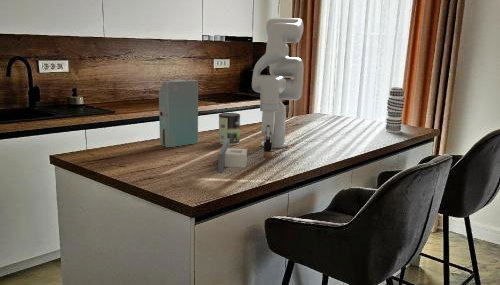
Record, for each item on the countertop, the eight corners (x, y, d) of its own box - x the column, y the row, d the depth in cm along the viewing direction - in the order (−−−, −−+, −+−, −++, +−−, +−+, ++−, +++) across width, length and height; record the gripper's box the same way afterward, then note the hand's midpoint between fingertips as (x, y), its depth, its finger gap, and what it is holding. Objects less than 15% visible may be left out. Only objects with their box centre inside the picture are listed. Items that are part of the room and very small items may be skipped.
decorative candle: (403, 133, 259) (408, 88, 254) (387, 132, 259) (391, 88, 254) (398, 130, 268) (403, 87, 263) (382, 129, 268) (386, 86, 263)
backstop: (225, 156, 196) (226, 138, 195) (269, 158, 196) (269, 139, 194) (218, 175, 169) (218, 154, 167) (268, 177, 168) (269, 155, 167)
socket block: (227, 160, 187) (227, 148, 186) (246, 160, 187) (247, 148, 186) (224, 166, 178) (224, 154, 177) (245, 167, 177) (245, 154, 176)
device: (189, 140, 225) (188, 79, 219) (198, 143, 220) (198, 80, 213) (159, 145, 214) (158, 80, 208) (168, 148, 209) (167, 82, 202)
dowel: (263, 157, 196) (264, 134, 194) (271, 157, 196) (272, 135, 194) (263, 159, 193) (264, 136, 191) (271, 159, 193) (271, 136, 191)
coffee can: (241, 141, 227) (242, 113, 224) (237, 145, 217) (237, 116, 214) (221, 140, 229) (221, 112, 226) (215, 144, 219) (216, 115, 216)
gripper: (260, 104, 198) (259, 145, 202) (259, 110, 182) (258, 154, 186) (278, 104, 198) (276, 145, 202) (278, 110, 181) (276, 155, 185)
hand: (267, 149), depth 194 cm, fingers open, 5 cm apart
